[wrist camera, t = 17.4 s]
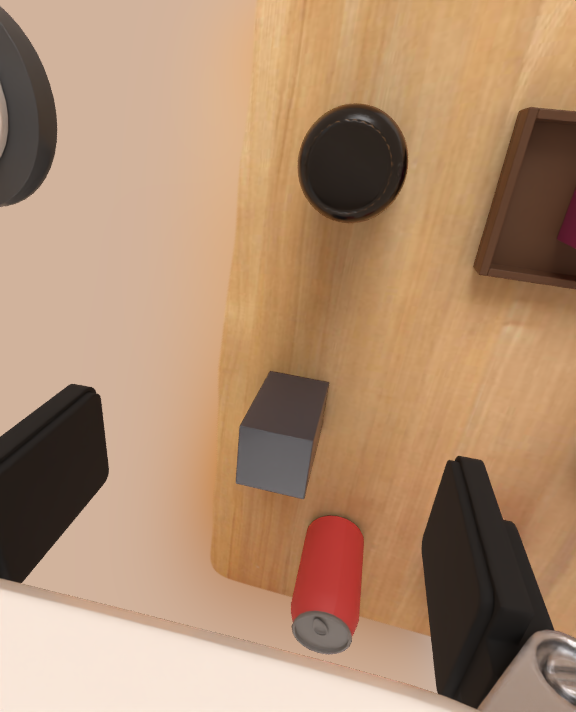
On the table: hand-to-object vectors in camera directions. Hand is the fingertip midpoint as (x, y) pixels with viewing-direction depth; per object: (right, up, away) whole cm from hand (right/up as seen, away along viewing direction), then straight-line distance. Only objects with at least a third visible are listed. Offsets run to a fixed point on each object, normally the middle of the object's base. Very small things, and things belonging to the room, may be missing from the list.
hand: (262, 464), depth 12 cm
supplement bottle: (+6, +18, +23) cm, 30 cm away
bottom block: (+1, -2, +33) cm, 33 cm away
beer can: (+6, -18, +39) cm, 44 cm away
